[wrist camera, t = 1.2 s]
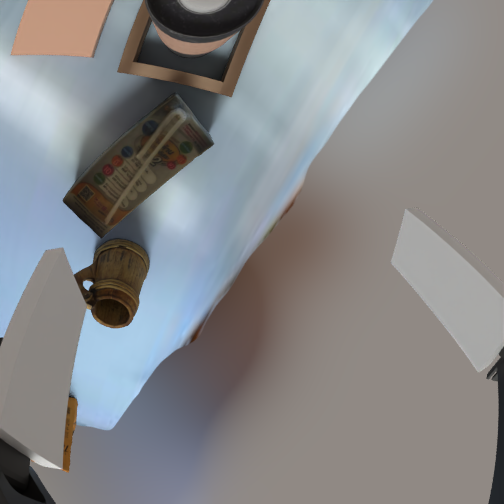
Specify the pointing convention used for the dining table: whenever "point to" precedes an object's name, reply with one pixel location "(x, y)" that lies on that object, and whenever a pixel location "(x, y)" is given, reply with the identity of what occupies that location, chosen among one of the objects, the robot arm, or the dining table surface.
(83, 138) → the dining table surface
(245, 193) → the dining table surface
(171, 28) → the travel mug
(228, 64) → the collar
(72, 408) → the coffee package
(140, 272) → the wooden mug
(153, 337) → the dining table surface
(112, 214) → the beverage carton
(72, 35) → the coaster tile
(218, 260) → the dining table surface
